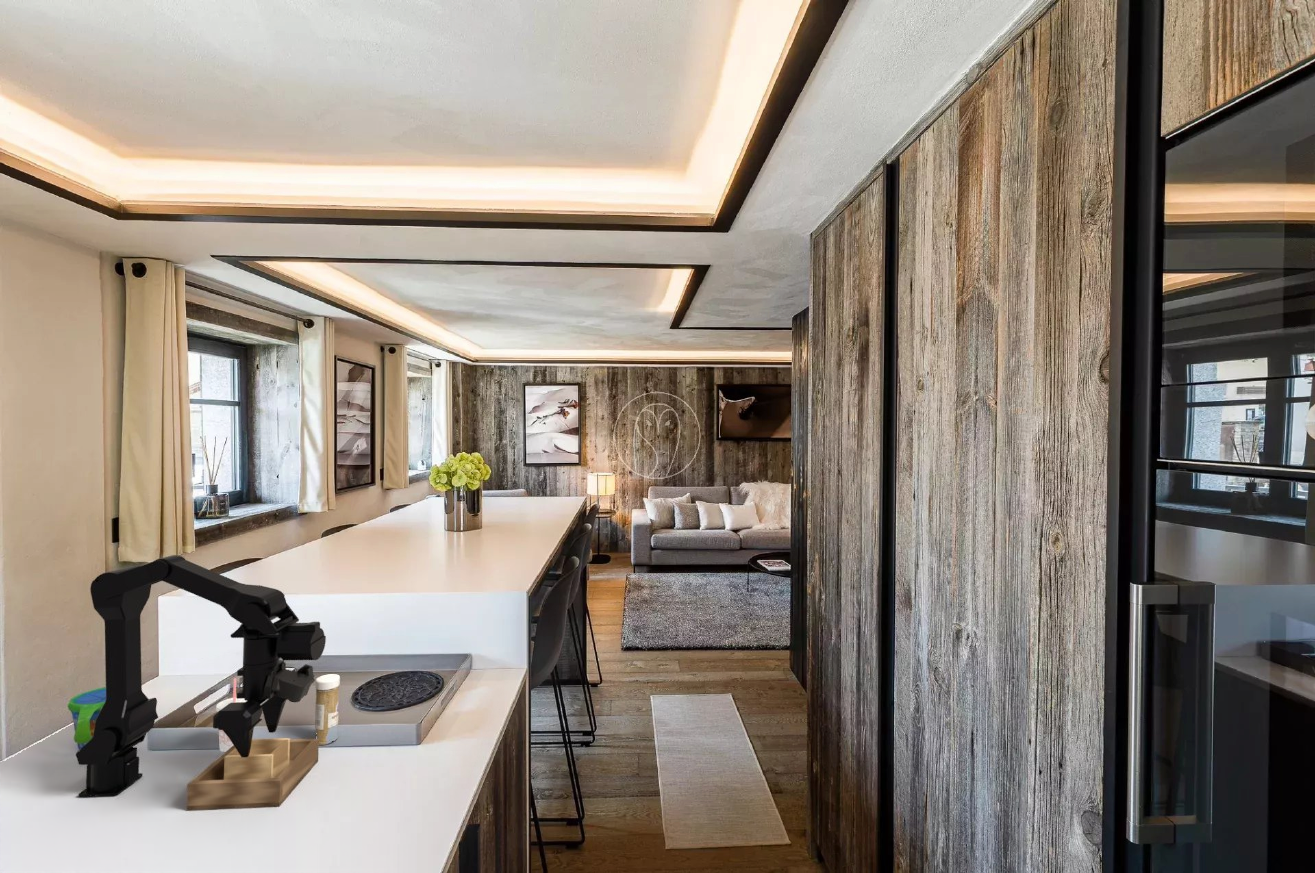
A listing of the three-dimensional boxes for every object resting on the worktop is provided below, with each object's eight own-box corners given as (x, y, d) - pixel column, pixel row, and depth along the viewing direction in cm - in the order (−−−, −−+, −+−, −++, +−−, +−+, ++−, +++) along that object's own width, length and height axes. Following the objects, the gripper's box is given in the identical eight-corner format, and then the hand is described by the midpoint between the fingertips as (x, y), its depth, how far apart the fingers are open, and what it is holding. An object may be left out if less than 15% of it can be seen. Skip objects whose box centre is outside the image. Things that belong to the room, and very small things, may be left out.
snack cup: (98, 727, 132) (100, 681, 132) (154, 723, 134) (155, 678, 134) (43, 765, 116) (44, 712, 116) (107, 760, 119) (108, 708, 119)
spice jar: (339, 742, 127) (341, 678, 127) (314, 747, 125) (316, 683, 125) (337, 733, 131) (338, 671, 131) (313, 738, 129) (314, 675, 129)
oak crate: (223, 790, 108) (224, 757, 108) (244, 770, 114) (245, 739, 114) (270, 788, 109) (271, 755, 109) (289, 769, 115) (289, 738, 115)
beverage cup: (257, 738, 128) (259, 672, 128) (238, 753, 122) (240, 684, 122) (228, 738, 128) (230, 672, 128) (207, 753, 122) (209, 684, 122)
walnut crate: (186, 810, 103) (187, 784, 103) (237, 763, 118) (238, 740, 118) (279, 806, 105) (280, 780, 105) (318, 761, 120) (318, 738, 120)
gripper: (281, 678, 103) (279, 769, 103) (328, 642, 122) (326, 719, 122) (212, 679, 102) (209, 772, 102) (270, 643, 121) (268, 721, 120)
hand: (259, 743), depth 112 cm, fingers open, 9 cm apart
